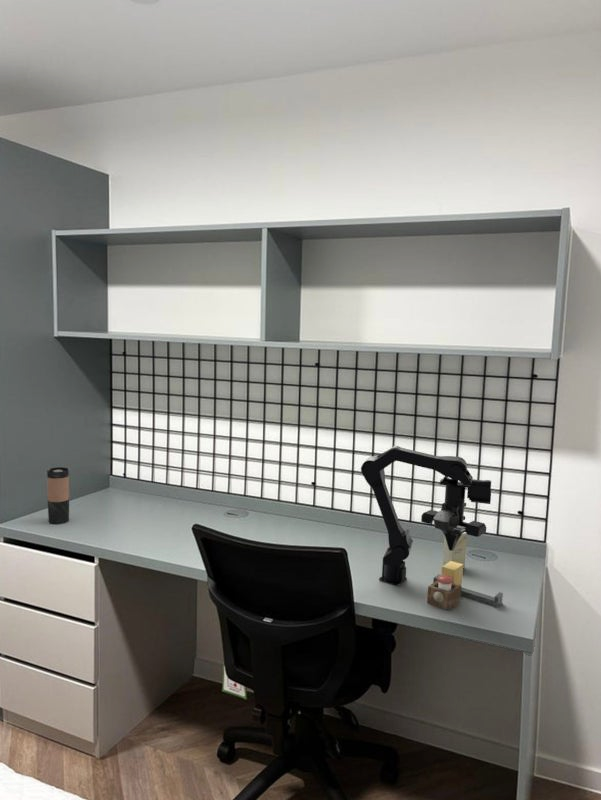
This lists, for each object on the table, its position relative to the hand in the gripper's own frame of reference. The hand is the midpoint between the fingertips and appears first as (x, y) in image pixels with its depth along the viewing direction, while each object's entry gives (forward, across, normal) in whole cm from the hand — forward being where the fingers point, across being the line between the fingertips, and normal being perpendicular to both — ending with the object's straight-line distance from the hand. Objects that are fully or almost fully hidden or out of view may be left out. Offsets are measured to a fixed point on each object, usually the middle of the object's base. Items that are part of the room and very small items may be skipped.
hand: (451, 550), depth 192 cm
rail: (+12, +6, -1) cm, 14 cm away
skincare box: (+12, -6, +16) cm, 21 cm away
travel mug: (+12, -135, -52) cm, 145 cm away
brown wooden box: (+12, +4, -10) cm, 16 cm away
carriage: (+12, +1, -1) cm, 12 cm away
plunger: (+11, +4, -10) cm, 15 cm away
